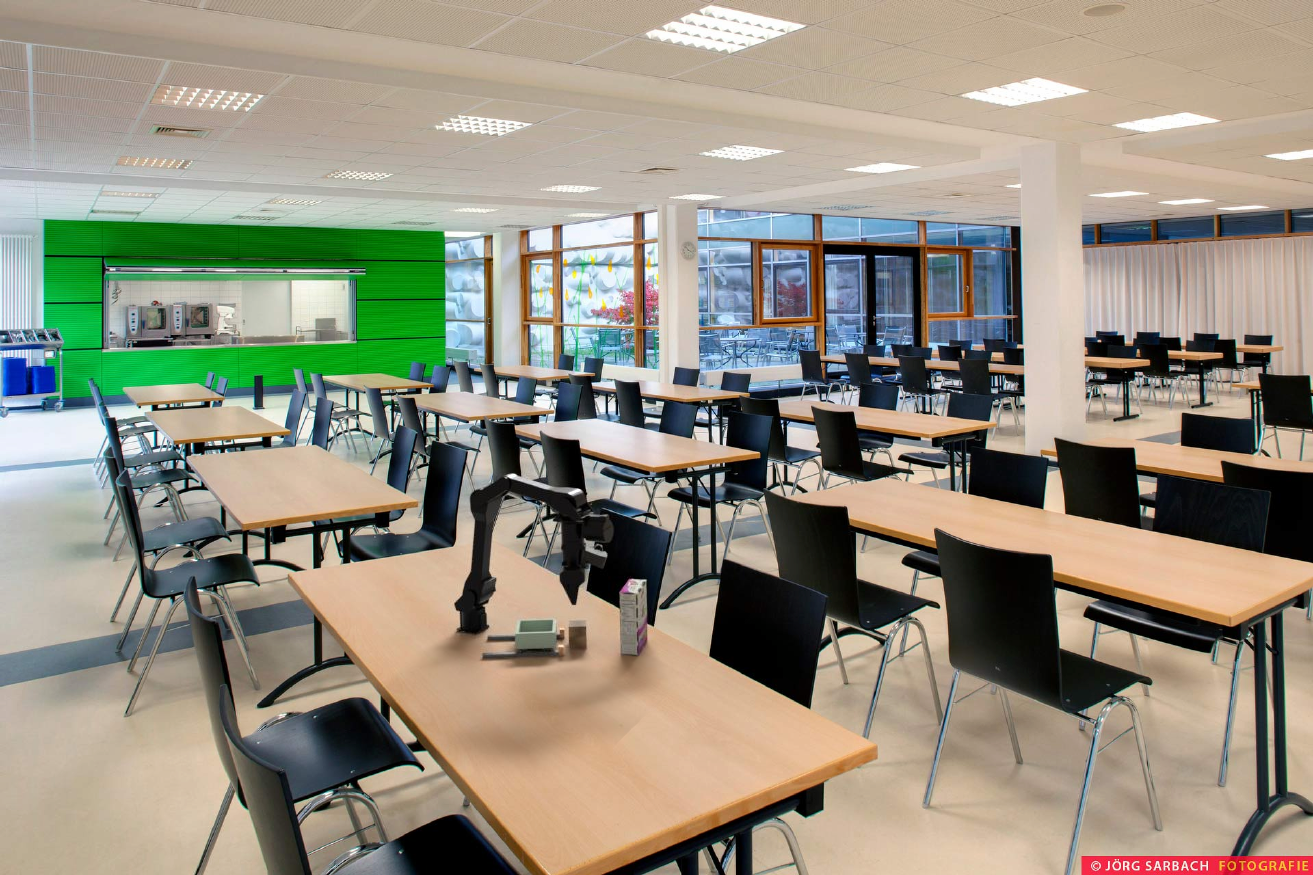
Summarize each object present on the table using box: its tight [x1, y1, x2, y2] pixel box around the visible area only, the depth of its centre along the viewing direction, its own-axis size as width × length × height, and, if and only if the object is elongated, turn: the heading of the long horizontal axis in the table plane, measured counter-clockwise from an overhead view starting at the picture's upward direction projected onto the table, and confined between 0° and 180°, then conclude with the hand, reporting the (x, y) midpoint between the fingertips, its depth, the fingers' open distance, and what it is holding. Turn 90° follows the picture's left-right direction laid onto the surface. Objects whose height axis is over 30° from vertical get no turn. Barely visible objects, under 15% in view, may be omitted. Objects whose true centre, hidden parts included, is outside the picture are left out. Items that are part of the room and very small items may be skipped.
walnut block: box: [568, 619, 588, 650], centre depth 229 cm, size 4×4×6 cm
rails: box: [481, 627, 566, 660], centre depth 228 cm, size 20×13×2 cm, turn 95°
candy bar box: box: [618, 578, 648, 656], centre depth 227 cm, size 11×5×16 cm, turn 168°
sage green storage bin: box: [514, 618, 558, 652], centre depth 228 cm, size 10×10×5 cm
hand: (574, 598), depth 227 cm, fingers open, 9 cm apart
